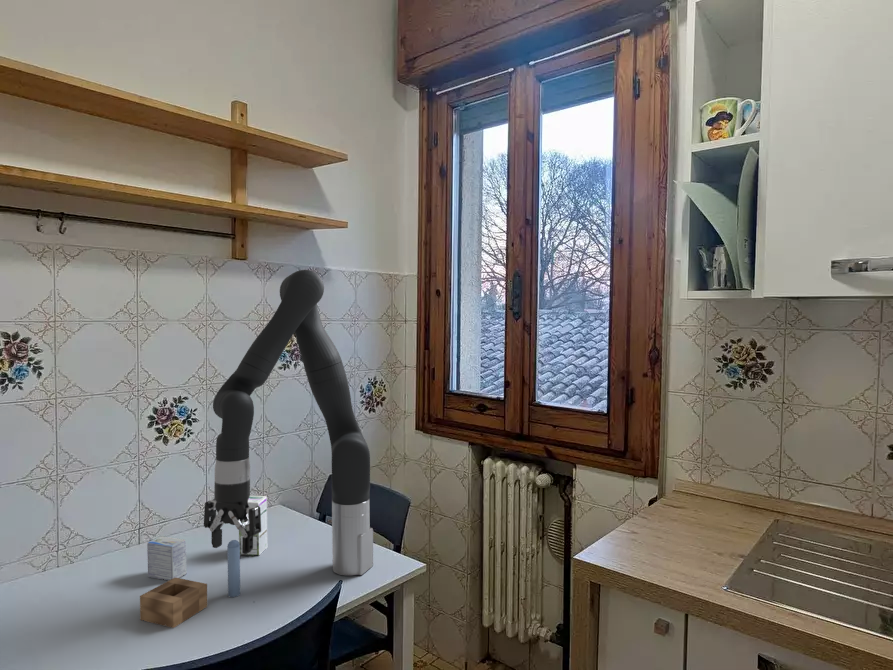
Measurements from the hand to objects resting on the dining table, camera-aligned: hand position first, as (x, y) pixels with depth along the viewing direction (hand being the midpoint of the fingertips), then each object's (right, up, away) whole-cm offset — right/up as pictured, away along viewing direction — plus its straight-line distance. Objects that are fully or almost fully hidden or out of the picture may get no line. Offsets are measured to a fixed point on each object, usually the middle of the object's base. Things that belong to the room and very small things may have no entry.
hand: (231, 549), depth 126 cm
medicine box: (-19, -10, +9) cm, 24 cm away
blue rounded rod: (+1, -10, 0) cm, 10 cm away
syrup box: (-3, -10, +24) cm, 26 cm away
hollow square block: (-9, -10, -8) cm, 16 cm away
